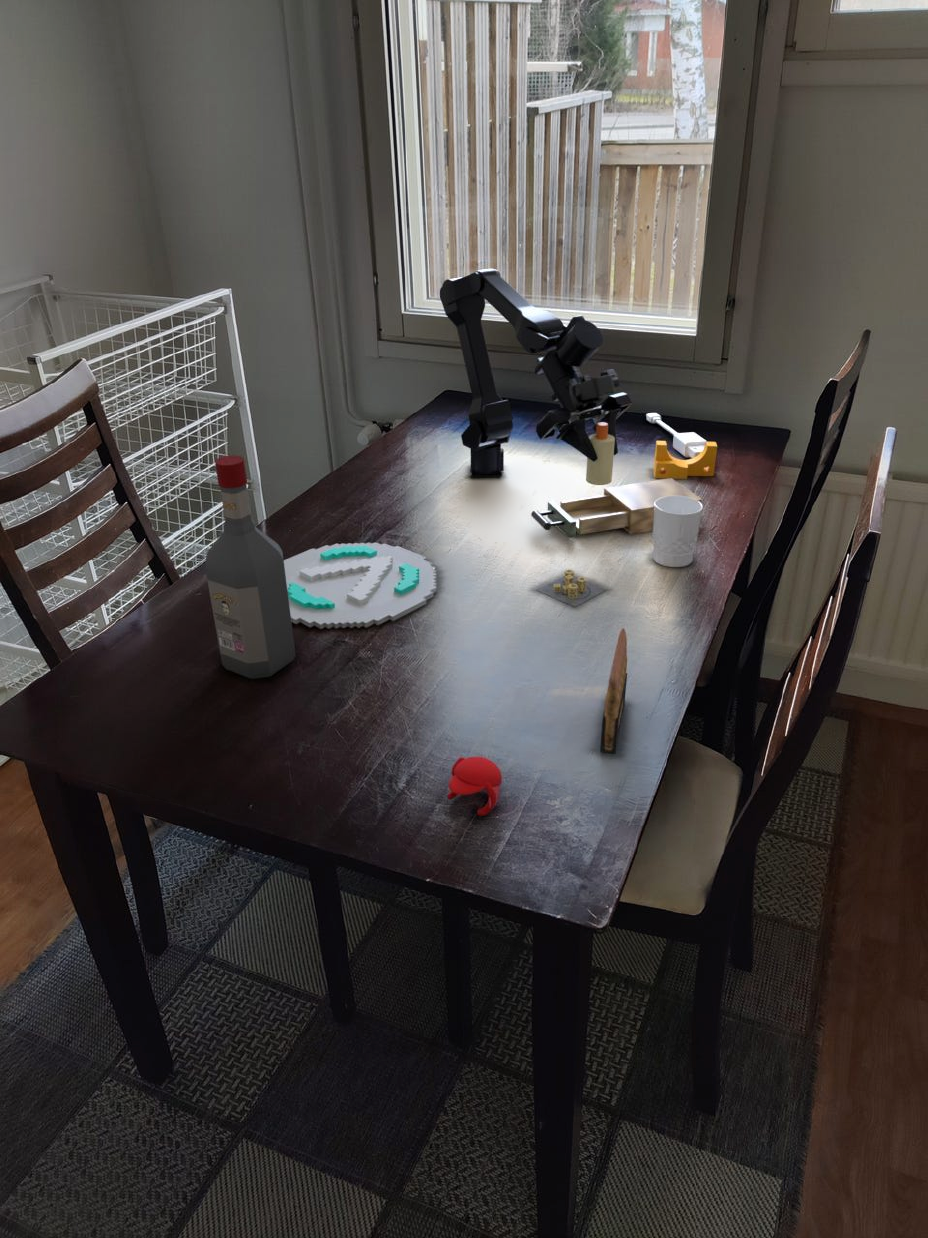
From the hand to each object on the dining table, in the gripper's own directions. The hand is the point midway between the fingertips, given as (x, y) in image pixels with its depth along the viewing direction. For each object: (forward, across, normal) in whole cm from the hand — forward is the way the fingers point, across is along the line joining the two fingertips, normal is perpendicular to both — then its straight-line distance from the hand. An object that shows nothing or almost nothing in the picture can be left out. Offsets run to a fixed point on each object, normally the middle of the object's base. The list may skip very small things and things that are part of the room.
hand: (605, 457), depth 162 cm
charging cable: (-7, +46, +26) cm, 53 cm away
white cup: (+22, 0, -2) cm, 22 cm away
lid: (+3, -48, +16) cm, 50 cm away
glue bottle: (+2, 0, +4) cm, 5 cm away
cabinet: (+11, +10, +8) cm, 17 cm away
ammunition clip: (+41, -41, -22) cm, 62 cm away
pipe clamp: (+4, +31, +16) cm, 35 cm away
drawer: (+8, -3, +10) cm, 13 cm away
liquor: (+12, -70, +8) cm, 71 cm away
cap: (+42, -64, -23) cm, 80 cm away
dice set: (+20, -20, -1) cm, 29 cm away
